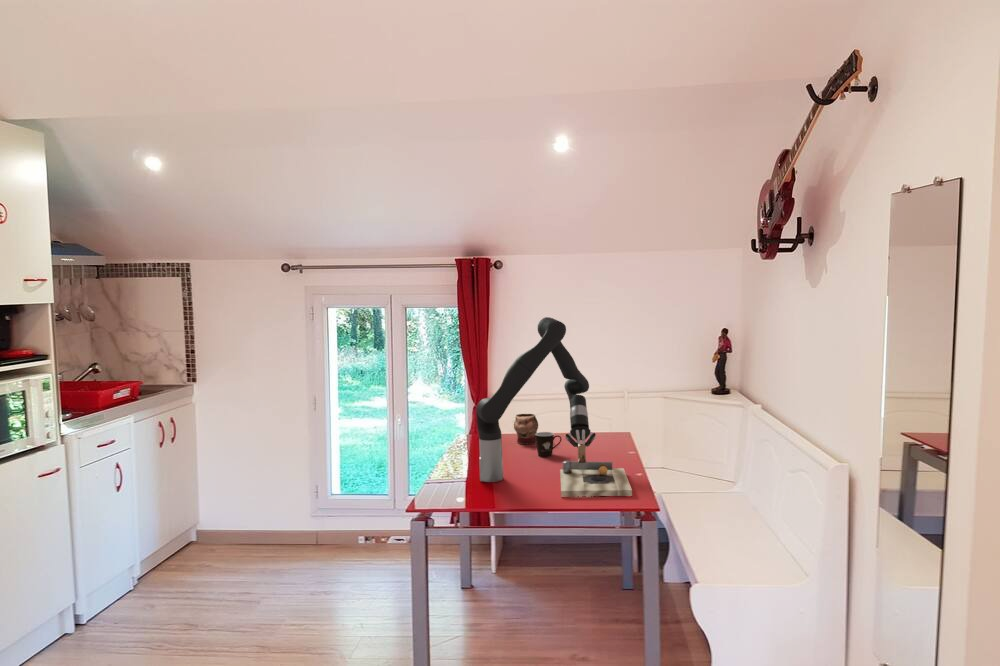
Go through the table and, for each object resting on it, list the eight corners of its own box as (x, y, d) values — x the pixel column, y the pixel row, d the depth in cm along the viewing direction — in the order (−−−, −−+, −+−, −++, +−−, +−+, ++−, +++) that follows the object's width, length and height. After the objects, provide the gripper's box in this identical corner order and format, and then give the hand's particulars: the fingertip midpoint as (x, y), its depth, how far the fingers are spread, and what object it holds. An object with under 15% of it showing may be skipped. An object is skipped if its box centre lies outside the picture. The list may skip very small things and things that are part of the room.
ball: (598, 476, 264) (599, 471, 261) (598, 469, 266) (598, 464, 264) (607, 476, 264) (607, 471, 261) (607, 469, 266) (607, 464, 264)
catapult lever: (562, 473, 268) (561, 445, 267) (563, 471, 271) (562, 443, 270) (612, 474, 264) (611, 446, 263) (612, 471, 267) (611, 444, 266)
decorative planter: (516, 437, 344) (515, 410, 343) (539, 436, 342) (539, 410, 341) (512, 446, 324) (511, 418, 323) (537, 446, 323) (536, 418, 322)
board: (561, 497, 246) (561, 491, 246) (560, 475, 274) (560, 469, 274) (632, 496, 244) (631, 489, 244) (623, 474, 272) (623, 468, 272)
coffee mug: (534, 457, 303) (533, 436, 302) (537, 452, 311) (536, 431, 310) (559, 458, 300) (558, 436, 299) (562, 453, 308) (561, 432, 308)
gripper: (563, 414, 278) (565, 451, 267) (595, 413, 277) (598, 450, 266) (563, 423, 284) (565, 459, 273) (594, 422, 283) (598, 458, 272)
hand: (582, 454), depth 269 cm, fingers closed
